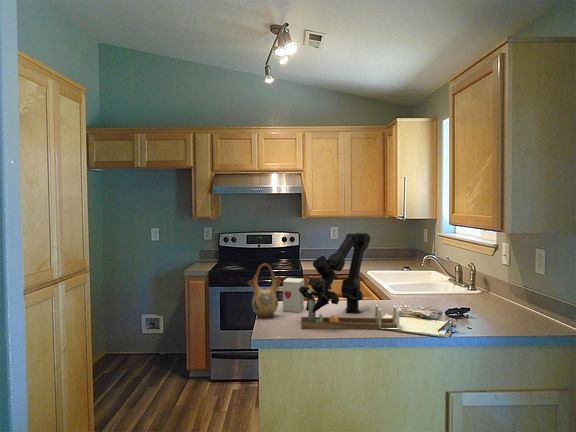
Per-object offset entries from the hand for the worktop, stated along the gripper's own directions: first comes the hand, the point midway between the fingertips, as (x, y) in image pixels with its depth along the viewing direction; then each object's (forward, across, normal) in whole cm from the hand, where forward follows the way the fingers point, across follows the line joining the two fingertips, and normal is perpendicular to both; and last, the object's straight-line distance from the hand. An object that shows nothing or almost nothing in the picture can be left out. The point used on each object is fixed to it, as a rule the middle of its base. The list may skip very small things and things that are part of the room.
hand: (309, 311), depth 164 cm
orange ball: (-3, +6, +10) cm, 12 cm away
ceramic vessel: (+6, -26, +4) cm, 27 cm away
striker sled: (+2, 0, +8) cm, 8 cm away
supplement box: (-6, -24, +16) cm, 29 cm away
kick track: (-4, +11, +14) cm, 18 cm away
